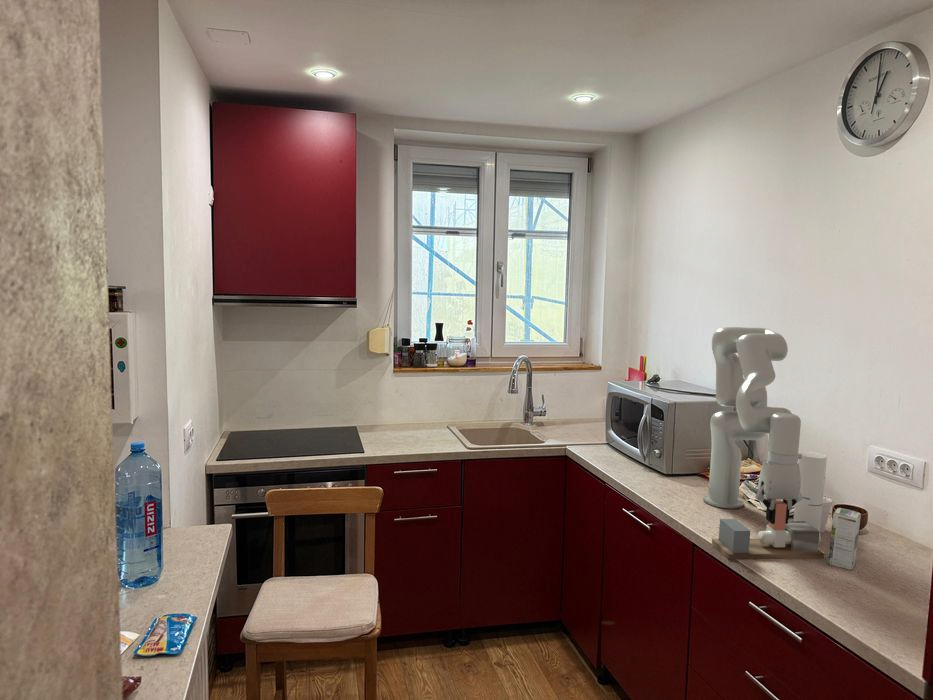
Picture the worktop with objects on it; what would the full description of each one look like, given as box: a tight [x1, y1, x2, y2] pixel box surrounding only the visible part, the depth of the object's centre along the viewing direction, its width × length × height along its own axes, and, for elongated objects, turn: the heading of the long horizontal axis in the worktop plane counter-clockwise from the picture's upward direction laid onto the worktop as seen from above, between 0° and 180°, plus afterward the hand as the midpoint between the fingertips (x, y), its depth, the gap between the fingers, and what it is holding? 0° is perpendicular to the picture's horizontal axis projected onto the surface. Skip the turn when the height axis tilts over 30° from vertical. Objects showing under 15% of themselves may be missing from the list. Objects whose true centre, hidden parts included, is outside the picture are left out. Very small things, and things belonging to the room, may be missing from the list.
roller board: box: [711, 520, 825, 561], centre depth 175 cm, size 10×27×7 cm, turn 93°
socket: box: [718, 518, 751, 553], centre depth 175 cm, size 8×4×6 cm, turn 3°
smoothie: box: [820, 496, 833, 533], centre depth 191 cm, size 6×6×14 cm
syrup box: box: [827, 507, 862, 571], centre depth 168 cm, size 6×6×14 cm
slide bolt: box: [757, 499, 822, 547], centre depth 175 cm, size 5×16×12 cm, turn 93°
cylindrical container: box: [792, 450, 828, 535], centre depth 185 cm, size 7×7×25 cm
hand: (777, 521), depth 175 cm, fingers closed on slide bolt, 3 cm apart
